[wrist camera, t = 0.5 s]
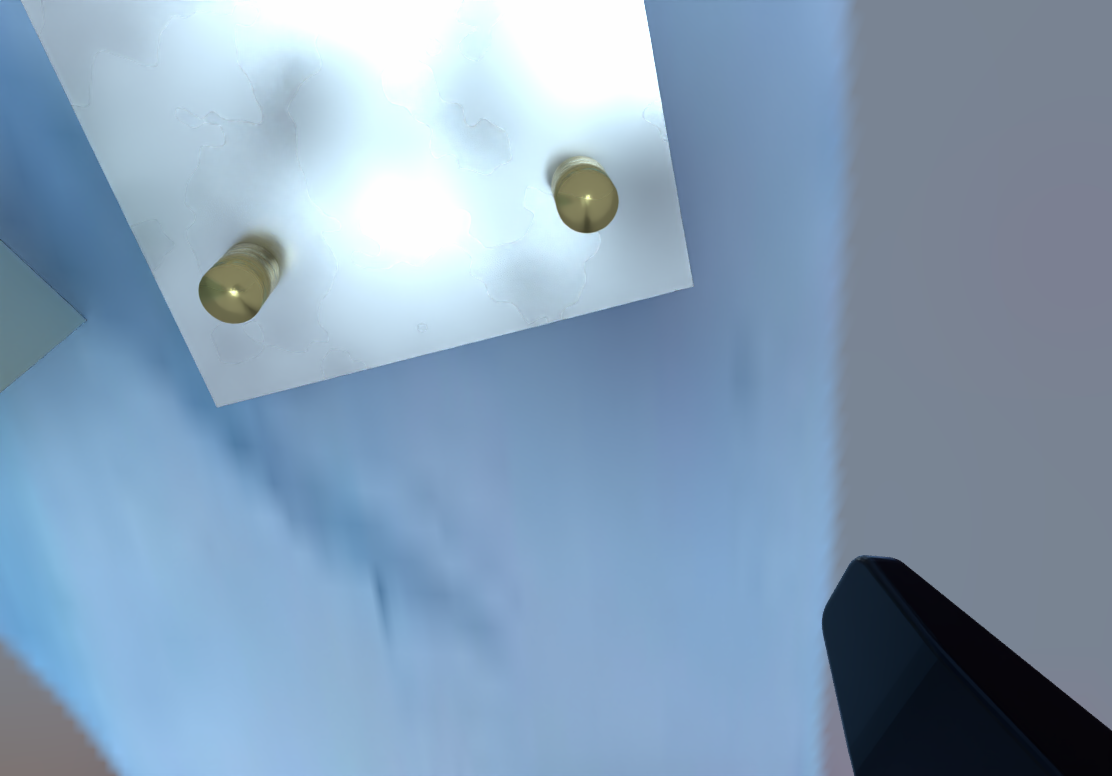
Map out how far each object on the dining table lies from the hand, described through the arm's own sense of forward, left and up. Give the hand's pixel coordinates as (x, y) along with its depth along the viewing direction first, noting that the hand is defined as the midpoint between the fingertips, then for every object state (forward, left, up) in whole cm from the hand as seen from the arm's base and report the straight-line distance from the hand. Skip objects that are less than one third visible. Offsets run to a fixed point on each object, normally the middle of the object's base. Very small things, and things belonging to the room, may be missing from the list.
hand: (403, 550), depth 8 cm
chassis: (+2, +4, -15) cm, 15 cm away
